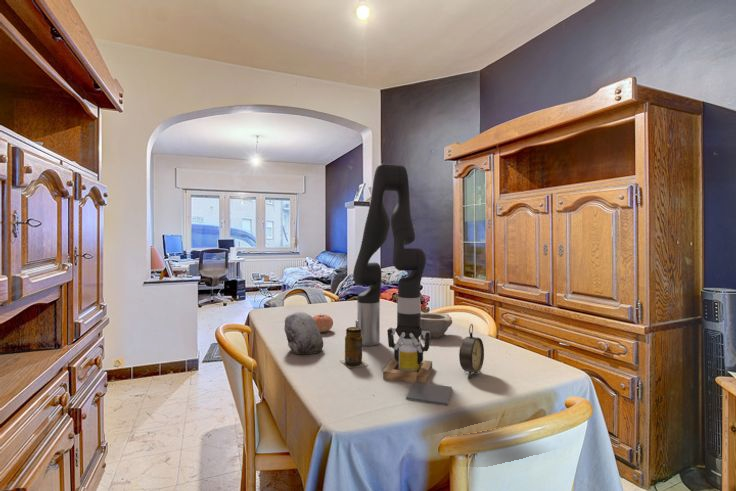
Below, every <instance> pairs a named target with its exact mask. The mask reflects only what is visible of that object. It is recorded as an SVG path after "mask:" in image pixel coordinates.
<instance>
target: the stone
mask: <svg viewBox="0 0 736 491" xmlns="http://www.w3.org/2000/svg"><path fill="white" fill-rule="evenodd" d="M283 329H284V332H285V335H286V340H287V342H288V343H287V346H288V347H289V348H290V350H291V352H293V354H296V355H315V354H318V353H319V352H321V351H322V350H323V348H324V340H323V337H322V334H321V333H320V332H319V331H318V328H317V326H316V323H315V321H314V319H313V318H312V315H311V314H309V313H307V312H305V311H295V312H292V313H290V314H288V315H287V316H286V317H285V318H284V328H283Z"/></svg>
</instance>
